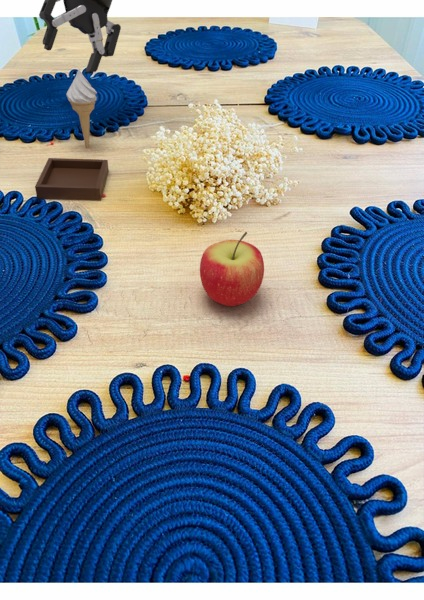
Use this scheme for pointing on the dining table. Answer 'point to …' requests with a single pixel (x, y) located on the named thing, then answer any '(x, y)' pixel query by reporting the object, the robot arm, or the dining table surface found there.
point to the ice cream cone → (82, 102)
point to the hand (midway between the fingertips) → (68, 61)
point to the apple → (231, 271)
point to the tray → (72, 179)
